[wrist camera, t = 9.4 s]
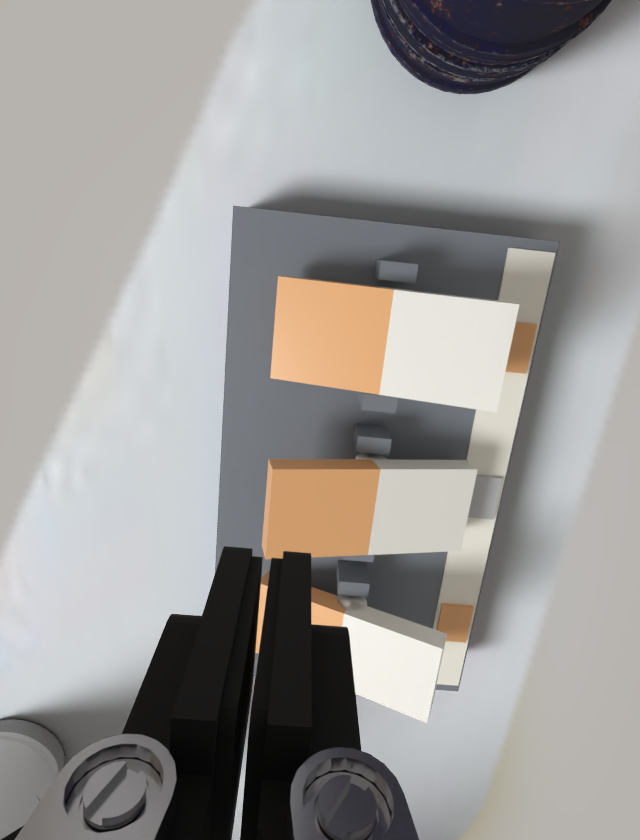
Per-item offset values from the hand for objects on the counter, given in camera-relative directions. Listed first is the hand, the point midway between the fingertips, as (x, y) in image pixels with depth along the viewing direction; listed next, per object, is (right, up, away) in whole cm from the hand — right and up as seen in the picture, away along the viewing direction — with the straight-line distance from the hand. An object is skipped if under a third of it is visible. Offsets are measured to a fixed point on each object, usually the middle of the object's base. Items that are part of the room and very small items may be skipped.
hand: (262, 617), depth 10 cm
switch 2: (+3, 0, +16) cm, 16 cm away
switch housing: (+3, +1, +21) cm, 21 cm away
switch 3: (+3, -8, +18) cm, 20 cm away
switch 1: (+4, +7, +14) cm, 16 cm away
